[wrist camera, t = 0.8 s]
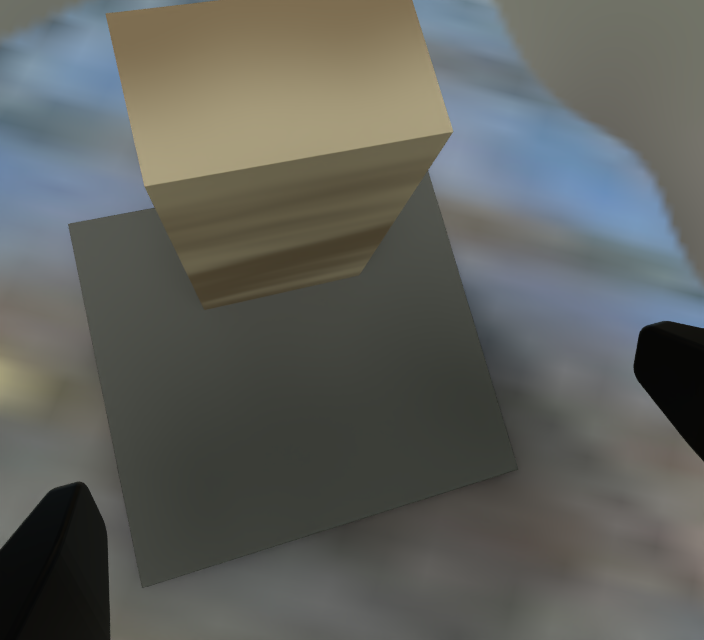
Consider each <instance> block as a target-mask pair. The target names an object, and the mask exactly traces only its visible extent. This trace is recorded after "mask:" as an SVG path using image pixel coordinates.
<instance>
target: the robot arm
mask: <svg viewBox="0 0 704 640" xmlns="http://www.w3.org/2000/svg"><path fill="white" fill-rule="evenodd" d="M634 373H635V376H636V378H637V380H638V382H639V383H640V384H641V385H642V387H643V388H644V389H645V390H646V392H647V393H648V394H649V395H650V397H651V398H652V399H653V401H654V402H655V403H656V404H657V406H658V407H659V408H660V409H661V411H662V412H663V413H664V414H665V416H666V417H667V418H668V419H669V421H670V422H671V423H672V425H673V426H674V427H675V428H676V430H677V431H678V432H679V433H680V435H681V436H682V437H683V438H684V440H685V441H686V442H687V443H688V444H689V446H690V447H691V448H692V449H693V450H694V451H695V453H696V454H697V455H698V456H699V457H700V458H701V459H702V460H703V461H704V328H699V327H694V326H690V325H685V324H680V323H676V322H671V321H662V322H658V323H654V324H651V325H647V326H645V327H643V328H642V330H641V331H640V333H639V337H638V343H637V349H636V354H635V360H634ZM0 640H110V604H109V573H108V541H107V531H106V526H105V523H104V520H103V518H102V516H101V514H100V512H99V510H98V507H97V505H96V503H95V501H94V499H93V497H92V495H91V493H90V491H89V489H88V487H87V486H86V485H85V484H84V483H82V482H75V483H71V484H68V485H64V486H60V487H57V488H54V489H52V490H50V491H49V492H48V493H47V494H46V495H45V497H44V498H43V499H42V500H41V501H40V503H39V504H38V505H37V506H36V507H35V509H34V510H33V511H32V512H31V513H30V515H29V516H28V517H27V518H26V519H25V521H24V522H23V523H22V524H21V525H20V527H19V528H18V529H17V530H16V531H15V533H14V534H13V535H12V536H11V537H10V539H9V540H8V541H7V542H6V543H5V545H4V546H3V547H2V548H1V549H0Z"/></svg>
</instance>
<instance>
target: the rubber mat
mask: <svg viewBox="0 0 704 640" xmlns="http://www.w3.org/2000/svg"><path fill="white" fill-rule="evenodd" d="M68 226H69V231H70V236H71V241H72V245H73V250H74V255H75V260H76V265H77V270H78V275H79V280H80V285H81V290H82V295H83V300H84V305H85V309H86V314H87V319H88V324H89V329H90V334H91V339H92V344H93V349H94V354H95V359H96V364H97V369H98V374H99V378H100V383H101V388H102V393H103V398H104V403H105V408H106V413H107V418H108V423H109V428H110V433H111V438H112V443H113V447H114V452H115V457H116V462H117V467H118V472H119V477H120V482H121V487H122V492H123V497H124V502H125V507H126V512H127V516H128V521H129V526H130V531H131V536H132V541H133V546H134V551H135V556H136V561H137V566H138V571H139V576H140V580H141V585H142V588H144V587H147V586H150V585H154V584H157V583H160V582H163V581H166V580H169V579H173V578H176V577H179V576H182V575H185V574H188V573H192V572H195V571H198V570H201V569H204V568H207V567H211V566H214V565H217V564H220V563H223V562H226V561H230V560H233V559H236V558H239V557H242V556H245V555H249V554H252V553H255V552H258V551H261V550H264V549H268V548H271V547H274V546H277V545H280V544H283V543H287V542H290V541H293V540H296V539H299V538H302V537H306V536H309V535H312V534H315V533H318V532H321V531H325V530H328V529H331V528H334V527H337V526H340V525H344V524H347V523H350V522H353V521H356V520H359V519H363V518H366V517H369V516H372V515H375V514H378V513H382V512H385V511H388V510H391V509H394V508H397V507H401V506H404V505H407V504H410V503H413V502H416V501H420V500H423V499H426V498H429V497H432V496H435V495H439V494H442V493H445V492H448V491H451V490H454V489H458V488H461V487H464V486H467V485H470V484H473V483H477V482H480V481H483V480H486V479H489V478H492V477H496V476H499V475H502V474H505V473H508V472H511V471H515V470H518V467H517V464H516V460H515V457H514V454H513V450H512V447H511V444H510V440H509V437H508V434H507V431H506V427H505V424H504V421H503V417H502V414H501V411H500V407H499V404H498V401H497V397H496V394H495V391H494V388H493V384H492V381H491V378H490V374H489V371H488V368H487V364H486V361H485V358H484V354H483V351H482V348H481V345H480V341H479V338H478V335H477V331H476V328H475V325H474V321H473V318H472V315H471V311H470V308H469V305H468V302H467V298H466V295H465V292H464V288H463V285H462V282H461V278H460V275H459V272H458V268H457V265H456V262H455V259H454V255H453V252H452V249H451V245H450V242H449V239H448V235H447V232H446V229H445V225H444V222H443V219H442V216H441V212H440V209H439V206H438V202H437V199H436V196H435V192H434V189H433V186H432V182H431V179H430V176H429V172H428V171H427V172H426V174H425V176H424V177H423V179H422V180H421V182H420V183H419V185H418V186H417V188H416V189H415V191H414V192H413V194H412V195H411V197H410V198H409V200H408V201H407V203H406V205H405V206H404V208H403V209H402V211H401V212H400V214H399V215H398V217H397V218H396V220H395V221H394V223H393V224H392V226H391V227H390V229H389V230H388V232H387V234H386V235H385V237H384V238H383V240H382V241H381V243H380V244H379V246H378V247H377V249H376V250H375V252H374V253H373V255H372V256H371V258H370V260H369V261H368V263H367V264H366V266H365V267H364V269H363V270H362V272H361V273H360V275H358V276H354V277H349V278H345V279H340V280H336V281H332V282H327V283H323V284H318V285H314V286H309V287H305V288H300V289H296V290H292V291H287V292H283V293H278V294H274V295H269V296H265V297H260V298H256V299H252V300H247V301H243V302H238V303H234V304H229V305H225V306H220V307H216V308H212V309H207V310H204V308H203V306H202V304H201V302H200V300H199V298H198V296H197V294H196V292H195V290H194V288H193V285H192V283H191V281H190V279H189V277H188V275H187V273H186V271H185V269H184V267H183V265H182V263H181V261H180V259H179V257H178V255H177V252H176V250H175V248H174V246H173V244H172V242H171V240H170V238H169V236H168V234H167V232H166V230H165V228H164V226H163V224H162V221H161V219H160V217H159V215H158V213H157V211H156V209H155V208H151V209H146V210H140V211H135V212H130V213H124V214H119V215H113V216H108V217H103V218H97V219H92V220H87V221H81V222H76V223H70V224H68Z"/></svg>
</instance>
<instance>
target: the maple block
mask: <svg viewBox="0 0 704 640" xmlns="http://www.w3.org/2000/svg"><path fill="white" fill-rule="evenodd" d="M106 18H107V22H108V26H109V31H110V35H111V40H112V44H113V49H114V53H115V58H116V62H117V66H118V71H119V75H120V80H121V84H122V89H123V93H124V97H125V102H126V106H127V111H128V115H129V120H130V124H131V128H132V133H133V137H134V142H135V146H136V151H137V155H138V160H139V164H140V168H141V173H142V177H143V182H144V186H145V188H146V190H147V193H148V195H149V197H150V199H151V201H152V203H153V205H154V207H155V209H156V211H157V213H158V215H159V217H160V219H161V221H162V224H163V226H164V228H165V230H166V232H167V234H168V236H169V238H170V240H171V242H172V244H173V246H174V248H175V250H176V252H177V255H178V257H179V259H180V261H181V263H182V265H183V267H184V269H185V271H186V273H187V275H188V277H189V279H190V281H191V283H192V285H193V288H194V290H195V292H196V294H197V296H198V298H199V300H200V302H201V304H202V306H203V308H204V310H207V309H212V308H216V307H220V306H225V305H229V304H234V303H238V302H243V301H247V300H252V299H256V298H260V297H265V296H269V295H274V294H278V293H283V292H287V291H292V290H296V289H300V288H305V287H309V286H314V285H318V284H323V283H327V282H332V281H336V280H340V279H345V278H349V277H354V276H358V275H360V273H361V272H362V270H363V269H364V267H365V266H366V264H367V263H368V261H369V260H370V258H371V256H372V255H373V253H374V252H375V250H376V249H377V247H378V246H379V244H380V243H381V241H382V240H383V238H384V237H385V235H386V234H387V232H388V230H389V229H390V227H391V226H392V224H393V223H394V221H395V220H396V218H397V217H398V215H399V214H400V212H401V211H402V209H403V208H404V206H405V205H406V203H407V201H408V200H409V198H410V197H411V195H412V194H413V192H414V191H415V189H416V188H417V186H418V185H419V183H420V182H421V180H422V179H423V177H424V176H425V174H426V172H427V171H428V169H429V168H430V166H431V165H432V163H433V162H434V160H435V159H436V157H437V156H438V154H439V153H440V151H441V150H442V148H443V146H444V145H445V143H446V142H447V140H448V139H449V137H450V136H451V134H452V133H453V130H452V126H451V123H450V120H449V117H448V114H447V110H446V107H445V104H444V101H443V97H442V94H441V91H440V88H439V85H438V81H437V78H436V75H435V72H434V69H433V65H432V62H431V59H430V56H429V53H428V49H427V46H426V43H425V40H424V37H423V33H422V30H421V27H420V24H419V21H418V17H417V14H416V11H415V8H414V5H413V1H412V0H219V1H210V2H202V3H193V4H184V5H176V6H167V7H159V8H150V9H141V10H133V11H124V12H116V13H107V14H106Z"/></svg>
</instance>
